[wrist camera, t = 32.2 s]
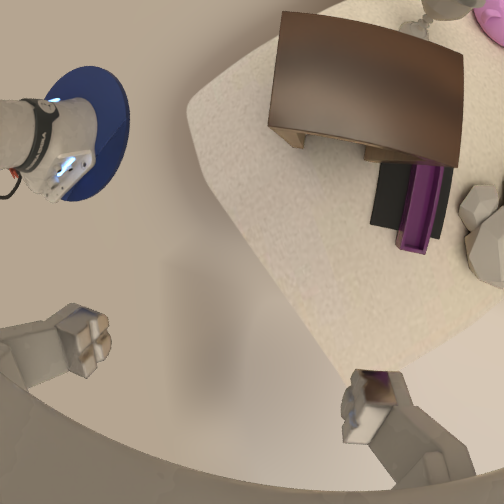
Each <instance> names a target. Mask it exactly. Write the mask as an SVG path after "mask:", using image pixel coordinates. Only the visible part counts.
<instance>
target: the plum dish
mask: <svg viewBox="0 0 504 504" xmlns="http://www.w3.org/2000/svg"><path fill="white" fill-rule="evenodd" d="M443 171H444V167H442V166H429V165H415V164H411V170H410V176H409V182H408V187H407V193H406V198H405V203H404V208H403V213H402V217H401V222H400V226H399V231H398V235H397V239H396V243H395V245H396V246H397V247H398V248H399V249H400V250H405V251H409V252H414V253H419V254H423V255H425V254H426V251H427V247H428V243H429V239H430V235H431V231H432V227H433V223H434V218H435V214H436V209H437V205H438V200H439V194H440V189H441V183H442V178H443Z"/></svg>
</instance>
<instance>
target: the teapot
mask: <svg viewBox="0 0 504 504" xmlns="http://www.w3.org/2000/svg"><path fill="white" fill-rule="evenodd" d="M473 10H474V13H475V16H476V19H477V21H478V23H479V24H480V26H481V28H482V29H483V30H484V31H485V33H486V34H487V35H488V36H489V37H490V38H491V39H493V40H494V41H495V42H497V43H498V44H500V45H502V46H504V0H486V3H485V4H484V6H483V7H480V8H473Z"/></svg>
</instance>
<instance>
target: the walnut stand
mask: <svg viewBox="0 0 504 504" xmlns="http://www.w3.org/2000/svg"><path fill="white" fill-rule="evenodd" d="M463 101H464V66H463V55H462V54H460V53H458V52H455V51H453V50H450V49H448V48H445V47H443V46H440V45H438V44H435V43H432V42H430V41H427V40H424V39H421V38H418V37H415V36H412V35H409V34H406V33H402V32H399V31H395V30H392V29H388V28H384V27H380V26H376V25H372V24H368V23H363V22H359V21H354V20H349V19H343V18H337V17H331V16H325V15H317V14H309V13H300V12H288V11H282V17H281V25H280V33H279V40H278V48H277V56H276V63H275V71H274V79H273V87H272V94H271V102H270V110H269V118H268V127H269V128H271V129H272V130H273V131H274V132H276V133H277V134H278V135H279V136H280V137H281V138H283V139H284V140H285V141H286V142H287V143H288V144H289V145H291V146H292V147H293V148H299V149H304V142H305V135H306V134H310V135H317V136H323V137H328V138H334V139H339V140H344V141H349V142H354V143H359V144H364V145H366V148H365V155H364V160H365V161H369V162H374V163H398V164H415V165H429V166H442V167H453V168H458V162H459V154H460V145H461V134H462V121H463Z"/></svg>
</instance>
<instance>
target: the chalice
mask: <svg viewBox="0 0 504 504" xmlns="http://www.w3.org/2000/svg"><path fill="white" fill-rule="evenodd" d="M421 1H422V4H423V8H424V11H425V13H426V14H424V15H423V19H419V20H418V22H414V21H412V22H405V23H403V24H402V25H401V26H400V29H399V32H402V33H406V34H409V35H412V36H415V37H418V38H421V39H424V40H427V41H429V39H428V31H427V29H428V28H429V23H433V19H434V20H438V21H451V20H458V19H461V18H463V17H464V16H465V15H467V14H468V13H469V12H470V11H471V10H472V9H473V8H480V7H483V6H484V4H485V3H486V0H421Z"/></svg>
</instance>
